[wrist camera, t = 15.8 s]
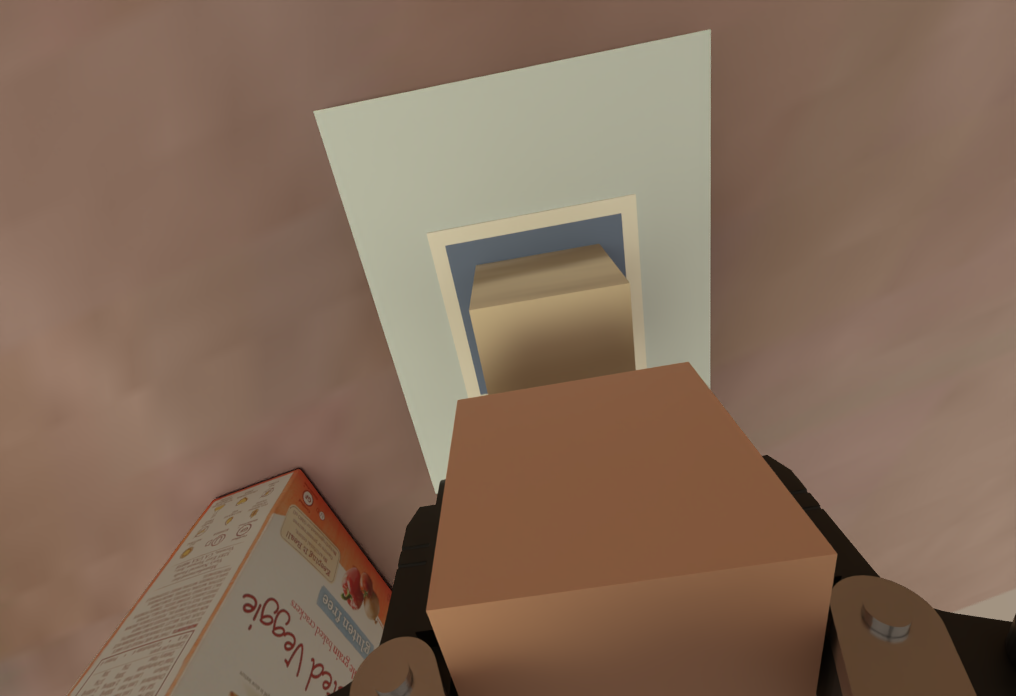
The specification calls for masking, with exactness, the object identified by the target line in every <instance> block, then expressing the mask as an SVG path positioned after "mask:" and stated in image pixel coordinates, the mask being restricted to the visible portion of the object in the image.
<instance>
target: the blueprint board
mask: <svg viewBox="0 0 1016 696" xmlns="http://www.w3.org/2000/svg"><path fill="white" fill-rule="evenodd" d="M313 112H314V115H315V118H316V121H317V124H318V128H319V131H320V134H321V137H322V140H323V143H324V146H325V149H326V152H327V156H328V159H329V162H330V165H331V168H332V171H333V174H334V177H335V181H336V184H337V187H338V190H339V193H340V196H341V199H342V202H343V206H344V209H345V212H346V215H347V218H348V221H349V224H350V227H351V231H352V234H353V237H354V240H355V243H356V246H357V249H358V252H359V255H360V259H361V262H362V265H363V268H364V271H365V274H366V277H367V280H368V284H369V287H370V290H371V293H372V296H373V299H374V302H375V305H376V309H377V312H378V315H379V318H380V321H381V324H382V327H383V330H384V334H385V337H386V340H387V343H388V346H389V349H390V352H391V355H392V359H393V362H394V365H395V368H396V371H397V374H398V377H399V380H400V383H401V387H402V390H403V393H404V396H405V399H406V402H407V405H408V408H409V412H410V415H411V418H412V421H413V424H414V427H415V430H416V433H417V437H418V440H419V443H420V446H421V449H422V452H423V455H424V458H425V462H426V465H427V468H428V471H429V474H430V477H431V480H432V483H433V486H434V490H435V493H436V494H438V489H439V484H440V481H441V480H444V479H446V474H447V467H448V461H449V454H450V447H451V440H452V434H453V427H454V420H455V414H456V407H457V400H461V399H467V398H473V397H479V396H485V395H488V393H487V388H486V384H485V379H484V375H483V370H482V366H481V362H480V357H479V353H478V348H477V344H476V339H475V335H474V331H473V326H472V322H471V317H470V313H469V307H470V300H471V294H472V287H473V281H474V274H475V268H476V265H481V264H486V263H492V262H498V261H503V260H509V259H515V258H520V257H526V256H532V255H537V254H543V253H549V252H554V251H560V250H566V249H571V248H577V247H583V246H588V245H594V244H600V245H601V247H602V248H603V249H604V250H605V252H606V253H607V254H608V256H609V257H610V258H611V259H612V261H613V262H614V263H615V265H616V266H617V267H618V268H619V270H620V271H621V272H622V274H623V275H624V276H625V277H626V279H627V280H628V281H629V283H630V293H631V308H632V322H633V337H634V352H635V366H636V370H641V369H647V368H653V367H659V366H665V365H671V364H677V363H683V362H689V363H690V364H691V365H692V367H693V368H694V369H695V371H696V372H697V373H698V374H699V376H700V377H701V378H702V380H703V381H704V382H705V383H706V385H707V386H708V387H709V389H710V234H711V29H709V30H705V31H700V32H695V33H690V34H685V35H680V36H675V37H671V38H666V39H661V40H656V41H651V42H646V43H642V44H637V45H632V46H627V47H622V48H617V49H613V50H608V51H603V52H598V53H593V54H588V55H584V56H579V57H574V58H569V59H564V60H559V61H555V62H550V63H545V64H540V65H535V66H530V67H526V68H521V69H516V70H511V71H506V72H501V73H496V74H492V75H487V76H482V77H477V78H472V79H467V80H463V81H458V82H453V83H448V84H443V85H438V86H434V87H429V88H424V89H419V90H414V91H409V92H405V93H400V94H395V95H390V96H385V97H380V98H376V99H371V100H366V101H361V102H356V103H351V104H346V105H342V106H337V107H332V108H327V109H322V110H317V111H313Z"/></svg>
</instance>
